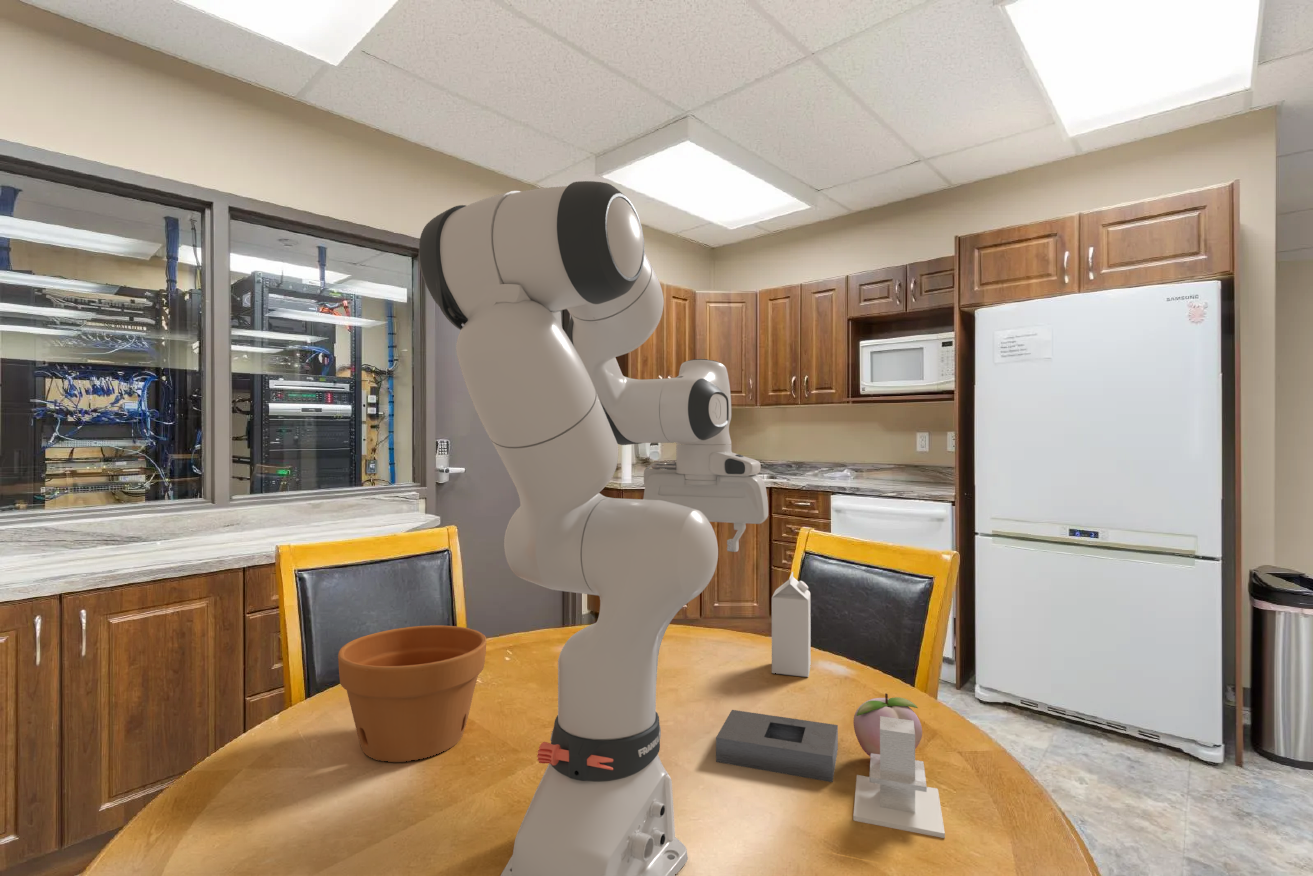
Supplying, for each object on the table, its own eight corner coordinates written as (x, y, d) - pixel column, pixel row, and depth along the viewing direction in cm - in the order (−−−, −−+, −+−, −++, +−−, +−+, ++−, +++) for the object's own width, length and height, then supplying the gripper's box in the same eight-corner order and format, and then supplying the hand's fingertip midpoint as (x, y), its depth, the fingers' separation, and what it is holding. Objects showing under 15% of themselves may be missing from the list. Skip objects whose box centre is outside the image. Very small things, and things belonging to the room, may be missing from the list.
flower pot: (425, 701, 111) (426, 617, 111) (514, 729, 100) (515, 635, 100) (306, 751, 93) (307, 650, 93) (399, 792, 82) (400, 677, 82)
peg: (923, 793, 81) (923, 718, 81) (926, 821, 75) (926, 740, 75) (870, 783, 83) (870, 711, 83) (869, 810, 77) (869, 732, 77)
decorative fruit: (891, 745, 95) (890, 678, 95) (933, 771, 87) (932, 698, 87) (839, 756, 91) (839, 687, 91) (878, 784, 84) (878, 709, 84)
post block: (832, 782, 84) (832, 756, 84) (715, 762, 90) (716, 737, 90) (837, 748, 94) (837, 725, 94) (732, 732, 99) (731, 709, 99)
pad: (944, 838, 72) (944, 833, 72) (853, 821, 76) (853, 816, 76) (937, 793, 82) (937, 788, 82) (856, 779, 85) (856, 775, 85)
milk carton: (771, 674, 124) (771, 577, 124) (775, 662, 131) (775, 570, 131) (808, 678, 122) (808, 579, 122) (810, 665, 129) (810, 572, 129)
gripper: (636, 462, 102) (636, 548, 102) (762, 464, 94) (762, 556, 94) (650, 461, 108) (651, 542, 108) (770, 462, 100) (770, 549, 100)
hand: (704, 549), depth 101 cm, fingers open, 8 cm apart
